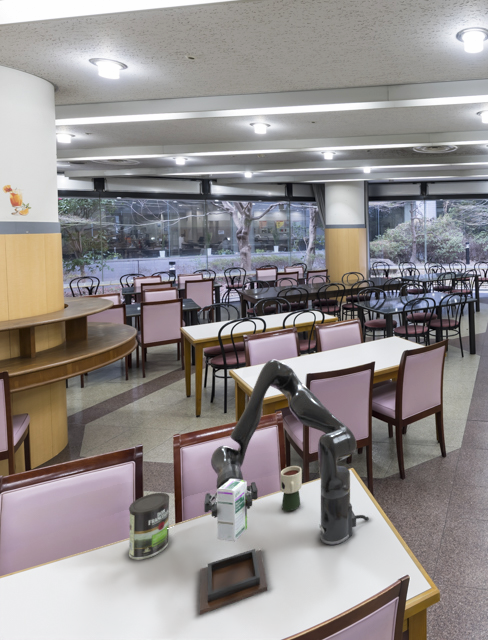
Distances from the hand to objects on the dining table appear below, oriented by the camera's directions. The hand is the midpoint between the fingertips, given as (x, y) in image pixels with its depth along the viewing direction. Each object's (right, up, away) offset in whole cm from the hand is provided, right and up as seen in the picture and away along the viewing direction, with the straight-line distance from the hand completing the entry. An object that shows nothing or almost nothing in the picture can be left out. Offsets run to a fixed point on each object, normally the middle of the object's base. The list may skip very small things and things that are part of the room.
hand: (232, 509), depth 123 cm
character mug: (+6, -18, +30) cm, 36 cm away
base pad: (+2, -18, -3) cm, 18 cm away
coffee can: (-30, -18, +10) cm, 37 cm away
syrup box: (-1, -8, +2) cm, 8 cm away
